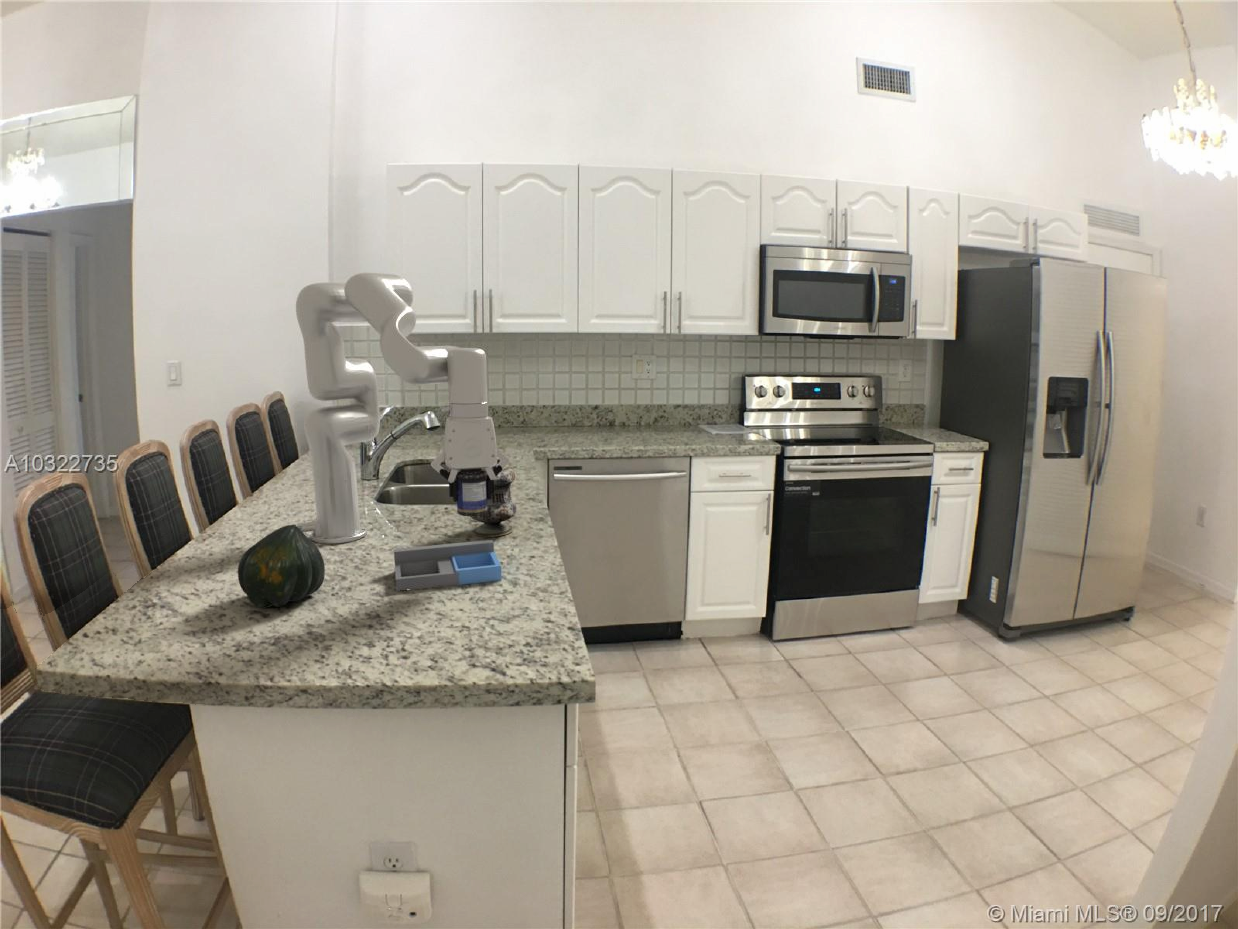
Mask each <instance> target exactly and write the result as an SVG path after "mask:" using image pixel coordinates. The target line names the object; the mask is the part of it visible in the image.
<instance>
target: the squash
mask: <svg viewBox="0 0 1238 929" xmlns="http://www.w3.org/2000/svg"><path fill="white" fill-rule="evenodd" d="M237 566H238V568H237V579H238V582H239V585H240V586H239V587H240V588H241V590H242V591H243V593H244V594H245V595H246V596H247V598H248V601H249V602H250V603H251V604H252V605H254V606H255V607H258V608H264V609H265V607H266V608H269V607H271V606H273V607H277V608H281V607H283V606H285V605H286V604H287V603H289V601H290V602H297V601H301V600H302V599H304V598H306V597H308V596H311V595H312V594H314V593H316V592H317V591H318V590H319V589H320V588H321V586H322V585H323V583H324V580H325V574H326V569H325V566H326V565H325V561H324V558H323V556H322V553H321V552H320V550H319V548H318V546H317V545H316V544H315V543H314V541H313V540H312V539H310V538H309V537H308V536H307V535H306V534H305V532H302V530H300V529H299V528H298V527H297V524H294V523H293V524H287V525H284V526H282V527H279V528H277V529H275V530H274V531H271V533H269V534H267V535H266V536H264V537H263V538H261V539H260V540H259V541H257V542H256V543H254V544H253V545H252V546H250V547H249V548H248V549H247V550H246V551H245V552H244V553H243V554H242V556H241V558H240V560H239V564H238V565H237Z"/></svg>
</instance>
